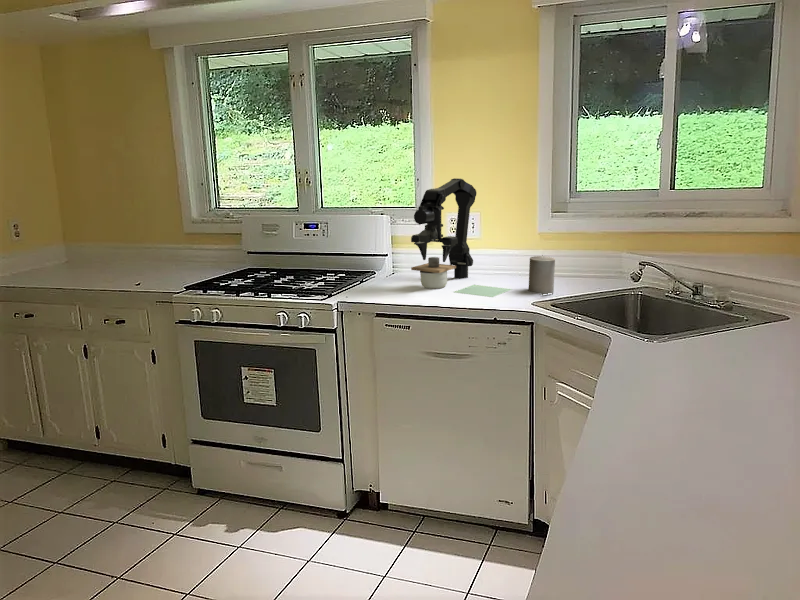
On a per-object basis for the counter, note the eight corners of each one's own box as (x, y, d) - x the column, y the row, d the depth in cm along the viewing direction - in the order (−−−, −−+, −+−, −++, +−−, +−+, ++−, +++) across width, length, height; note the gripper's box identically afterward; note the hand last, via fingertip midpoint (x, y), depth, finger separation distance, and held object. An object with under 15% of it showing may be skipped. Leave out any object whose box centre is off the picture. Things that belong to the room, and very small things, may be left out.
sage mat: (474, 287, 279) (474, 284, 279) (512, 291, 270) (512, 289, 269) (452, 294, 266) (452, 292, 265) (492, 299, 256) (492, 297, 256)
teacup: (445, 292, 270) (445, 272, 268) (417, 291, 272) (417, 271, 270) (449, 285, 283) (449, 266, 282) (423, 284, 285) (423, 265, 284)
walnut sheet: (428, 265, 285) (428, 254, 284) (456, 268, 277) (456, 257, 276) (411, 270, 274) (411, 258, 273) (439, 273, 267) (439, 261, 266)
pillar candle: (523, 291, 269) (524, 253, 266) (544, 289, 273) (546, 252, 269) (537, 296, 261) (538, 257, 257) (559, 294, 264) (560, 255, 261)
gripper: (403, 222, 271) (403, 261, 274) (443, 225, 260) (443, 266, 264) (418, 220, 280) (418, 258, 283) (458, 222, 269) (458, 261, 273)
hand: (434, 261), depth 275 cm, fingers open, 9 cm apart
